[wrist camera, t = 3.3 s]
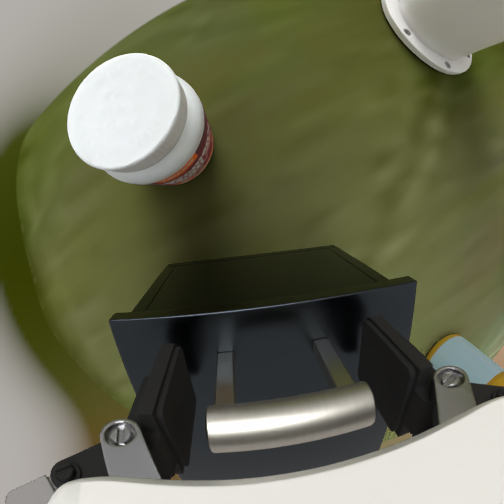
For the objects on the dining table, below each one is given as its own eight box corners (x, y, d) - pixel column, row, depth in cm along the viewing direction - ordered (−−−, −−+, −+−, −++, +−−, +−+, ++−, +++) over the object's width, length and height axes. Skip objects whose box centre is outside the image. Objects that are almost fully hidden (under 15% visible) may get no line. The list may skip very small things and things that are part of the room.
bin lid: (114, 312, 11) (53, 389, 6) (408, 275, 12) (490, 324, 6) (194, 492, 15) (191, 548, 10) (366, 466, 16) (389, 516, 10)
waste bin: (167, 264, 22) (119, 327, 11) (334, 244, 22) (406, 290, 12) (202, 406, 26) (194, 491, 15) (331, 389, 26) (366, 466, 16)
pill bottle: (192, 198, 21) (149, 210, 10) (125, 167, 20) (38, 156, 9) (228, 126, 20) (224, 67, 9) (159, 98, 19) (101, 33, 8)
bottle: (415, 386, 27) (477, 463, 13) (425, 341, 26) (507, 419, 11) (453, 368, 28) (516, 431, 13) (464, 325, 26) (543, 384, 11)
